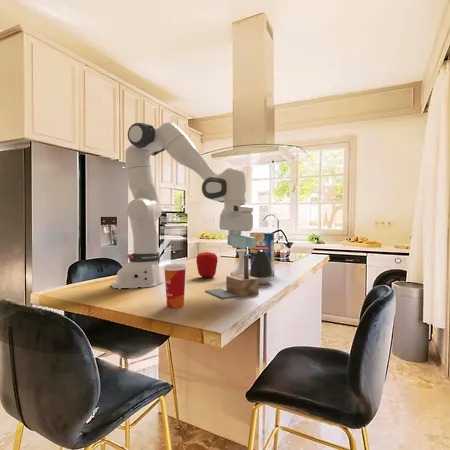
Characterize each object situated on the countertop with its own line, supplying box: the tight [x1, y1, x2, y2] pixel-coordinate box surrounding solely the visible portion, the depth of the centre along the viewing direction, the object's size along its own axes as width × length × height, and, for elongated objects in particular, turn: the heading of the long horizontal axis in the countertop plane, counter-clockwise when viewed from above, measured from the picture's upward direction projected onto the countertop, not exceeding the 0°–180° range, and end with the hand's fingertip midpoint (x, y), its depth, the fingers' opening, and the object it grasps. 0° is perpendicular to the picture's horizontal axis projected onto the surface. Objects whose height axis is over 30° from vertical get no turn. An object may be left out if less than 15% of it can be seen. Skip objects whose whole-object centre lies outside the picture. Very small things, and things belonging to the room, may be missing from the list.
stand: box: [225, 254, 260, 297], centre depth 125 cm, size 8×11×15 cm
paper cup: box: [163, 263, 187, 309], centre depth 107 cm, size 8×8×14 cm
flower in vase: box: [229, 231, 250, 276], centre depth 157 cm, size 13×11×25 cm
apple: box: [195, 251, 218, 279], centre depth 158 cm, size 10×10×14 cm
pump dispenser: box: [249, 250, 273, 285], centre depth 143 cm, size 10×10×15 cm
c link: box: [227, 234, 256, 250], centre depth 125 cm, size 11×6×4 cm, turn 31°
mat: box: [204, 288, 240, 300], centre depth 123 cm, size 7×14×1 cm, turn 31°
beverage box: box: [249, 232, 275, 277], centre depth 163 cm, size 7×11×22 cm, turn 67°
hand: (234, 241), depth 129 cm, fingers closed on c link
